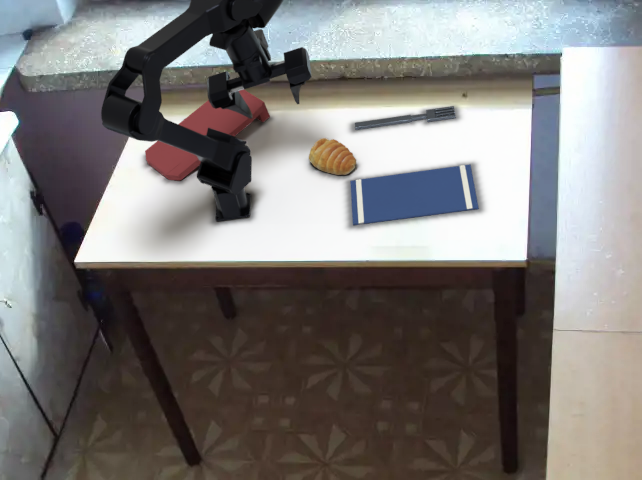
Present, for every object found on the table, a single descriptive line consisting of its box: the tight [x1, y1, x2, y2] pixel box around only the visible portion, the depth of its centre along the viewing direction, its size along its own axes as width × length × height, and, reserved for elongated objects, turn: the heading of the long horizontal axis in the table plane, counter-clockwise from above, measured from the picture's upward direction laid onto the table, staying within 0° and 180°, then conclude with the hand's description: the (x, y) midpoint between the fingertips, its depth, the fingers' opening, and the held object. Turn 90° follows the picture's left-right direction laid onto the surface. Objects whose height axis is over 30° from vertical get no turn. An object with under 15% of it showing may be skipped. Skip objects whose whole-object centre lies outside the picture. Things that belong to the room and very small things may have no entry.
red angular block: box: [144, 89, 271, 181], centre depth 190 cm, size 12×5×25 cm
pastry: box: [308, 137, 357, 176], centre depth 178 cm, size 9×7×4 cm
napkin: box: [350, 164, 480, 226], centre depth 170 cm, size 12×22×1 cm, turn 89°
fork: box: [354, 105, 457, 131], centre depth 184 cm, size 3×19×1 cm, turn 89°
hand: (274, 109), depth 174 cm, fingers open, 9 cm apart
